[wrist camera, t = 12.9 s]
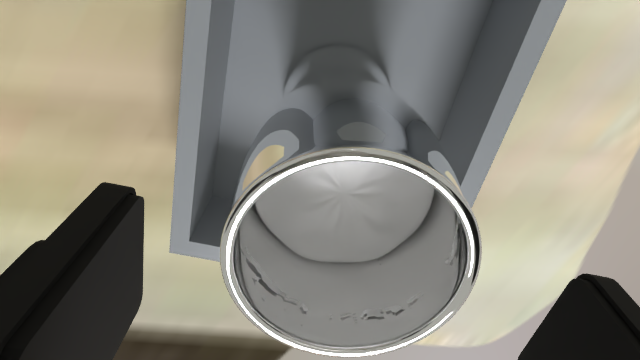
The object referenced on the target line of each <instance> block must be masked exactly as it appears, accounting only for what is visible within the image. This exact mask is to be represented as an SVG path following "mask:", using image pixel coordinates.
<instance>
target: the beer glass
mask: <svg viewBox="0 0 640 360" xmlns="http://www.w3.org/2000/svg"><path fill="white" fill-rule="evenodd" d="M481 255H482V245H481V236H480V231H479V227H478V224H477V221H476V218H475V216H474V213H473V211H472V209H471V207H470V206H469V204H468V202H467V201H466V199H465V197H464V195H463V192H462V190H461V187H460V185H459V182H458V180H457V177H456V175H455V173H454V170H453V168H452V166H451V164H450V161H449V159H448V157H447V155H446V153H445V152H444V150H443V148H442V146H441V144H440V143H439V141H438V139H437V137H436V135H435V134H434V132H433V131H432V130H431V128H430V127H429V125H428V124H427V123H426V122H425V120H424V119H423V118H422V116H421V115H420V114H419V113H418V111H417V110H416V109H415V108H414V107H413V106H412V105H411V104H410V103H409V102H407V101H406V100H405V99H404V98H402V97H401V96H400V95H399V94H397V93H396V92H395V91H393V90H392V89H390V88H389V83H388V79H387V77H386V75H385V73H384V71H383V69H382V68H381V66H380V65H379V64H378V63H377V61H376V60H375V59H373V58H372V57H371V56H370V55H368V54H367V53H365V52H364V51H362V50H359V49H357V48H354V47H350V46H345V45H331V46H325V47H322V48H319V49H316V50H314V51H312V52H310V53H309V54H307V55H306V56H304V57H303V58H302V59H301V60H300V61H299V62H298V63H297V64H296V65H295V67H294V68H293V69H292V71H291V73H290V75H289V77H288V79H287V82H286V85H285V89H284V97H283V98H282V99H281V100H280V101H279V103H278V104H277V105H276V106H275V107H274V108H273V109H272V110H271V111H270V112H269V114H268V115H267V116H266V117H265V119H264V120H263V122H262V123H261V125H260V127H259V128H258V130H257V132H256V134H255V136H254V138H253V140H252V141H251V143H250V145H249V148H248V150H247V153H246V155H245V158H244V161H243V164H242V166H241V169H240V172H239V175H238V179H237V183H236V187H235V191H234V194H233V199H232V203H231V208H230V212H229V216H228V219H227V221H226V223H225V226H224V229H223V233H222V237H221V244H220V265H221V271H222V276H223V279H224V282H225V285H226V287H227V290H228V292H229V294H230V296H231V298H232V299H233V301H234V302H235V304H236V305H237V307H238V308H239V309H240V311H241V312H242V313H243V314H244V315H245V317H246V318H247V319H248V320H249V321H250V322H252V323H253V324H254V325H255V326H256V327H257V328H259V329H260V330H261V331H263V332H264V333H265V334H267V335H269V336H270V337H272V338H274V339H275V340H277V341H279V342H281V343H283V344H286V345H288V346H290V347H293V348H296V349H298V350H302V351H305V352H309V353H313V354H318V355H324V356H331V357H365V356H372V355H378V354H383V353H387V352H391V351H394V350H398V349H401V348H404V347H406V346H409V345H411V344H413V343H415V342H418V341H420V340H422V339H423V338H425V337H427V336H429V335H430V334H432V333H433V332H435V331H436V330H437V329H439V328H440V327H441V326H443V325H444V324H445V323H446V322H447V321H449V320H450V319H451V318H452V317H453V316H454V315H455V314H456V312H457V311H458V310H459V309H460V308H461V306H462V305H463V304H464V302H465V301H466V299H467V298H468V296H469V294H470V293H471V291H472V289H473V287H474V284H475V282H476V279H477V276H478V273H479V269H480V264H481Z"/></svg>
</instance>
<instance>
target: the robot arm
mask: <svg viewBox="0 0 640 360" xmlns="http://www.w3.org/2000/svg"><path fill="white" fill-rule="evenodd" d="M143 243H144V199H143V197H141V196H136V192H135V189H134V188H132V187H127V186H122V185H117V184H111V183H106V182H104V183H101V184H100V185H99V186H98V187H97V188H96V189H95V190H94V191H93V192H92V193H91V194H90V195H89V196H88V197H87V198H86V199H85V200H84V201H83V202H82V203H81V204H80V205H79V206H78V207H77V208H76V209H75V210H74V211H73V212H72V213H71V214H70V215H69V216H68V217H67V218H66V220H65V221H64V222H63V223H62V224H61V225H60V226H59V227H58V228H57V229H56V230H55V231H54V232H53V233H52V234H51V235H50V236H49V237H48V238H47V239H46V240H40V241H37V242H35V243H34V244H32V245H31V246H30V247H29V248H28V249H27V250H26V251H24V252H23V253H22V254H21V255H20V256H19V257H18V258H17V259H16V260H15V261H14V262H13V263H12V264H11V265H10V266H9V267H8V268H7V269H6V270H5V271H4V272H3V273H2V274H1V275H0V360H112V359H113V358H114V356H115V354H116V352H117V350H118V348H119V346H120V344H121V342H122V340H123V338H124V337H125V335H126V333H127V331H128V329H129V327H130V325H131V323H132V321H133V319H134V317H135V315H136V314H137V312H138V309H139V307H140V304H141V300H142V294H143ZM518 360H640V307H639V306H638V305H637V304H636V303H635V302H634V300H633V299H632V298H631V297H630V296H629V295H628V294H627V293H626V292H625V290H624V289H623V288H622V287H621V286H620V285H619V284H618V283H617V282H616V281H615V280H613V279H611V278H607V277H602V276H597V275H591V274H582V275H580V276H578V277H577V278H576V279H573V280H571V281H570V282H569V284H568V285H567V287H566V288H565V289H564V291H563V292H562V294H561V295H560V297H559V298H558V300H557V301H556V303H555V304H554V306H553V307H552V308H551V310H550V311H549V313H548V314H547V316H546V317H545V319H544V320H543V322H542V323H541V325H540V326H539V327H538V329H537V330H536V332H535V333H534V335H533V337H532V338H531V339H530V341H529V342H528V344H527V345H526V346H525V348H524V349H523V351H522V352H521V354H520V355H519V357H518Z"/></svg>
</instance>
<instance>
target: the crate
mask: <svg viewBox="0 0 640 360" xmlns="http://www.w3.org/2000/svg"><path fill="white" fill-rule="evenodd" d="M566 1H567V0H186V14H185V29H184V44H183V59H182V73H181V88H180V103H179V118H178V133H177V147H176V162H175V177H174V192H173V207H172V221H171V236H170V251H169V253H175V254H180V255H186V256H191V257H197V258H202V259H207V260H213V261H218V262H220V244H221V237H222V233H223V229H224V226H225V223H226V221H227V219H228V216H229V212H230V208H231V203H232V199H233V194H234V191H235V187H236V183H237V179H238V175H239V172H240V169H241V166H242V164H243V161H244V158H245V155H246V153H247V150H248V148H249V145H250V143H251V141H252V140H253V138H254V136H255V134H256V132H257V130H258V128H259V127H260V125H261V123H262V122H263V120H264V119H265V117H266V116H267V115H268V114H269V112H270V111H271V110H272V109H273V108H274V107H275V106H276V105H277V104H278V103H279V101H280V100H281V99H282V98H283V97H284V89H285V85H286V82H287V79H288V77H289V75H290V73H291V71H292V69H293V68H294V67H295V65H296V64H297V63H298V62H299V61H300V60H301V59H302V58H303V57H304V56H306V55H307V54H309V53H310V52H312V51H314V50H316V49H319V48H322V47H325V46H331V45H345V46H350V47H354V48H357V49H359V50H362V51H364V52H365V53H367V54H368V55H370V56H371V57H372V58H373V59H375V60H376V61H377V63H378V64H379V65H380V66H381V68H382V69H383V71H384V73H385V75H386V77H387V79H388V83H389V88H390V89H392V90H393V91H395V92H396V93H397V94H399V95H400V96H401V97H402V98H404V99H405V100H406V101H407V102H409V103H410V104H411V105H412V106H413V107H414V108H415V109H416V110H417V111H418V113H419V114H420V115H421V116H422V118H423V119H424V120H425V122H426V123H427V124H428V125H429V127H430V128H431V130H432V131H433V132H434V134H435V135H436V137H437V139H438V141H439V143H440V144H441V146H442V148H443V150H444V152H445V153H446V155H447V157H448V159H449V161H450V164H451V166H452V168H453V170H454V173H455V175H456V177H457V180H458V182H459V185H460V187H461V190H462V192H463V195H464V197H465V199H466V201H467V202H468V204H469V206H470V207H471V208H472V206H473V204H474V201H475V199H476V197H477V195H478V193H479V190H480V188H481V186H482V184H483V182H484V180H485V177H486V175H487V173H488V171H489V169H490V166H491V164H492V162H493V160H494V158H495V156H496V153H497V151H498V149H499V147H500V145H501V142H502V140H503V138H504V136H505V134H506V132H507V129H508V127H509V125H510V123H511V121H512V118H513V116H514V114H515V112H516V110H517V108H518V105H519V103H520V101H521V99H522V97H523V94H524V92H525V90H526V88H527V86H528V84H529V81H530V79H531V77H532V75H533V73H534V70H535V68H536V66H537V64H538V62H539V60H540V57H541V55H542V53H543V51H544V49H545V46H546V44H547V42H548V40H549V38H550V36H551V33H552V31H553V29H554V27H555V25H556V22H557V20H558V18H559V16H560V14H561V12H562V9H563V7H564V5H565V3H566Z"/></svg>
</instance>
